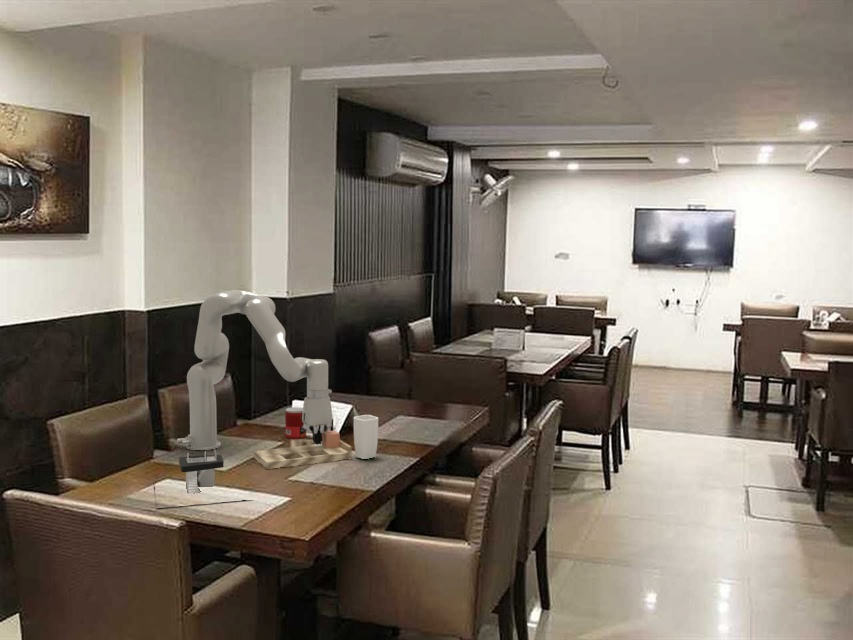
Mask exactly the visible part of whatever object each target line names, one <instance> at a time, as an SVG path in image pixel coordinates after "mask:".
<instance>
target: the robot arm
mask: <svg viewBox="0 0 853 640" xmlns="http://www.w3.org/2000/svg"><path fill="white" fill-rule="evenodd" d="M237 313H239V314H241V315H246V318H248V319H247V320H248V321H250V323H251V325H252V326H253V327H254V329H255V330H256V332H257V333H258V335H259V337H260V338H261V339H262V341H263V342H264V344H265V347H266V350H267V353H268V357H269V358H270V361H271V363H272V364H273V366H274V367H275V369H276V370H277V372H278V373H279V374H280V376H281V377H282V378H283V379H284V380H285V381H287V382H290V383H292V382H293V383H294V382H297V381H299V380H301V379H303V378H306V397H304V399H303V405H302V408H303V414H302V422H303V423H304V425H303V428H304V429H306V430H309V431H310V432H312V442H313V443H314V444H317V445H318V444H322V433H323V432H325V430H326V429H327V428H329V427H332V426H333V424H332V422H333V411H332V409H333V408H332V402H331V398H330V396H329V395H330V394H332V392H333V391H332V389H329V363H328V361H327V360H326V359H323V358H322V359H321V358H320V359H319V358H316V359H312V358H307V357H299V356H298V357H295V358H294V357H293V355H292V354H291V353H290V350H289V349H288V346H287V344H286V330H285V328H284V326H283V325H282V323H281V322H280V321H279V319H278V318H277V317H276V315H275V313H276V304H275V302H274V301H273V300H272V299H271V298H270V297H268V296H265V295H260V294H258V293H257V294H256V293H253V292H249V291H244V290H240V289H231V290H225V291H221V292H217V293H213V294H211V295H209V296H207V297H206V298H205V299H204V300H203V301H202V303H201V305H200V309H199V316H198V322H197V323H198V324H197V328H196V329H197V330H196V335H195V339H194V340H195V342H194V347H193V348H194V350H193V351H194V354H195V356H196V357H197V358H198V359H199V360H202V361H201V362H198V363H196V364H193V365H192V366H191V367H190V369H189V370H188V371H187V375H186V384H187V388H188V397H189V401H188V402H189V434H187V436H185V437H184V438H183V437H180V438H177V439H176V444H179V445H180V444H182V445H185V448H186V449H187V450H189V449H190V451H195V450H206V451H211V449H213V450H214V447H215V448H217V449H220V448H221V446H222V443H221V441H220V440H217V439H218V438H217V434H218V433H217V428H218V427H217V397H216V390H215V388H214V387H215V386H214V385H217V384H218V383H220V382H222V380H223V379H224V377H225V375H226V371H227V363H228V359H229V353H230V352H229V349H230V343H229V339H228V338H227V336H226V335H225V333H223V332H222V329H223V320H222V319H223V318H222V317H223V316H225V315H227V316H228V315H233V314H237Z"/></svg>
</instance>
